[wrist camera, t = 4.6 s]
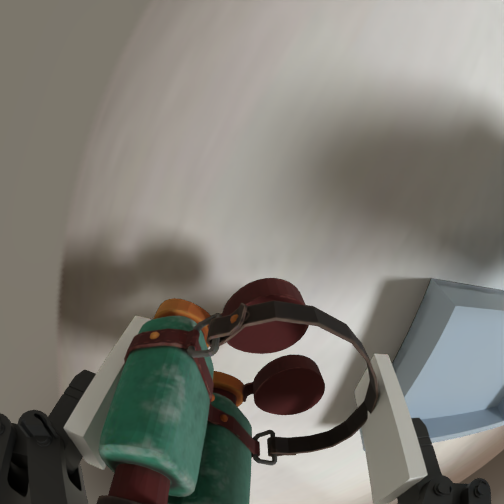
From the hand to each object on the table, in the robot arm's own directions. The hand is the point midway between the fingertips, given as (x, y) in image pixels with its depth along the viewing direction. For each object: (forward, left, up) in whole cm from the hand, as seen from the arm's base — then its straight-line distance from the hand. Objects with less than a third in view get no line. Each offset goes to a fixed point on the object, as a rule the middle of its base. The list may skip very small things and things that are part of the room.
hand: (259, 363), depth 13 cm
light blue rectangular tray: (+4, +21, -6) cm, 22 cm away
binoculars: (0, 0, -2) cm, 2 cm away
